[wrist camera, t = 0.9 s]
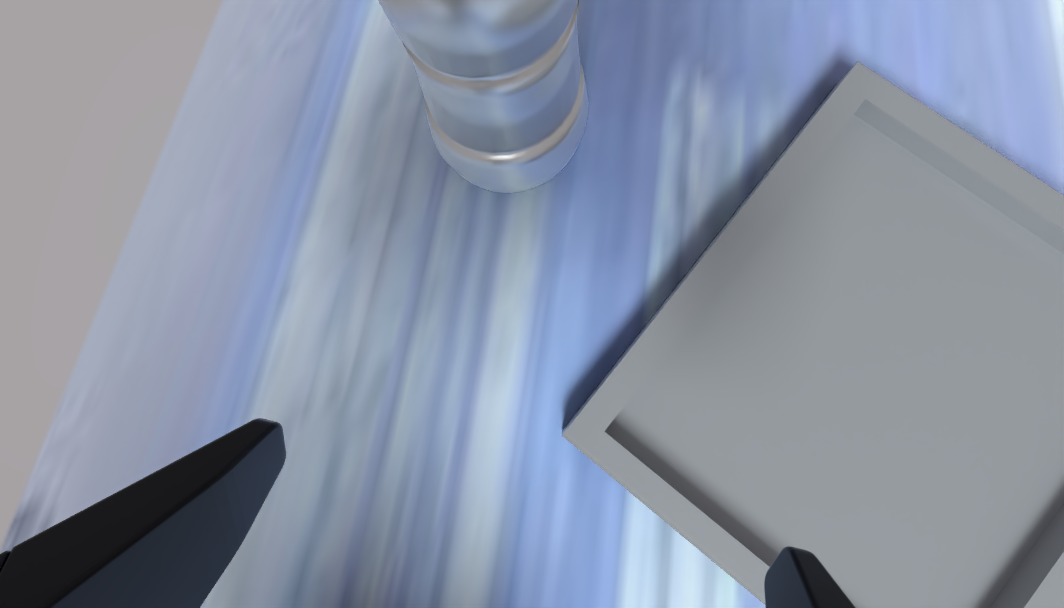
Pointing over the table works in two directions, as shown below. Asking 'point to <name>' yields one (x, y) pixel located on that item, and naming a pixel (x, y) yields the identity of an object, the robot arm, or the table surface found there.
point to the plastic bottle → (498, 85)
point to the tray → (862, 369)
